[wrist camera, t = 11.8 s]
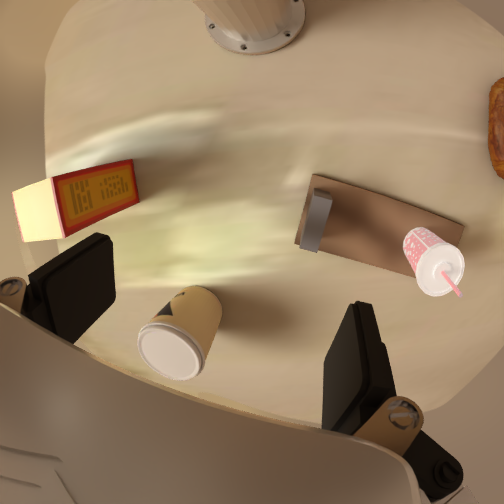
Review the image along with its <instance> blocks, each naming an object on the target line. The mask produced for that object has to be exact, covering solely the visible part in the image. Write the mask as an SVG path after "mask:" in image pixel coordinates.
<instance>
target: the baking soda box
mask: <svg viewBox="0 0 504 504" xmlns="http://www.w3.org/2000/svg"><path fill="white" fill-rule="evenodd" d="M12 197H13V202H14V208H15V212H16V217H17V221H18V225H19V229H20V233H21V237H22V240H23V242H30V241H39V240H48V239H58V238H66V237H68V236H70V235H72V234H74V233H76V232H77V231H79V230H81V229H83V228H85V227H88V226H90V225H92V224H94V223H96V222H98V221H100V220H102V219H104V218H106V217H108V216H110V215H113V214H115V213H117V212H119V211H121V210H124V209H126V208H128V207H130V206H132V205H135V204H137V203H139V196H138V191H137V185H136V179H135V173H134V166H133V160H132V159H129V160H124V161H118V162H113V163H109V164H104V165H99V166H95V167H90V168H86V169H82V170H78V171H74V172H70V173H66V174H62V175H58V176H54V177H51V178H48V179H45V180H43V181H40V182H37V183H34V184H32V185H29V186H27V187H24V188H21V189H19V190H16V191H14V192H12Z"/></svg>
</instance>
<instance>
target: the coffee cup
mask: <svg viewBox="0 0 504 504" xmlns="http://www.w3.org/2000/svg"><path fill="white" fill-rule="evenodd" d="M221 318H222V306H221V303H220V301H219V300H218V298H217V297H216V296H215V295H214V294H213V293H212V292H210V291H209V290H207V289H205V288H202V287H199V286H189V287H186V288H184V289H183V290H181V291H180V292H179V293H178V294H177V295H176V296H175V297H174V298H173V299H172V300H171V301H170V302H169V303H168V304H167V305H166V306H165V307H164V308H163V309H162V310H161V311H160V312H159V313H158V314H157V315H156V316H155V317H154V318H153V319H152V320H151V321H150V322H149V323H147V324H146V325H145V326H144V327H142V329H141V330H140V332H139V335H138V343H137V344H138V349H139V353H140V355H141V356H142V358H143V360H144V361H145V362H146V363H147V364H148V365H149V366H150V367H151V368H152V369H153V370H154V371H156V372H157V373H159V374H160V375H162V376H164V377H167V378H169V379H173V380H179V381H183V380H189V379H192V378H194V377H195V376H197V375H198V374H200V373H201V371H202V370H203V368H204V365H205V360H206V358H207V355H208V352H209V350H210V347H211V345H212V342H213V340H214V337H215V334H216V332H217V329H218V326H219V324H220V321H221Z"/></svg>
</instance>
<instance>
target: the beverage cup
mask: <svg viewBox="0 0 504 504" xmlns="http://www.w3.org/2000/svg"><path fill="white" fill-rule="evenodd" d="M403 250H404V253H405V255H406V257H407V259H408V261H409V263H410V265H411V267H412V269H413V271H414V272H415V275H416V279H417V283H418V284H419V287H420V288H421V289H422V290H423V292H424V293H425V294H428V295H431V296H442V295H444V294H446V293H448V292H450V291H451V290H454V291H455V292H456V294H457V295H458V297H459V298H461V297H462V296H463V294H462V293H461V291H460V290H459V289H458V287H457V285H458V283H459V281H460V280H461V278H462V276H463V272H464V267H465V264H464V257H463V255H462V254H461V252H460V251H459V249H458V248H456V247H455V246H453V245H451V244H449V243H446V242H445V241H444V240H442V239H441V238H439V237H438V236H437V235H435V234H434V233H432V232H431V231H430V230H428V229H426V228H424V227H417V228H415V229H413V230H411V231H410V232H409V233H408V234H407V235H406V237H405V239H404V242H403Z"/></svg>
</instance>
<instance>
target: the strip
mask: <svg viewBox="0 0 504 504" xmlns="http://www.w3.org/2000/svg"><path fill="white" fill-rule="evenodd" d="M417 227H424V228H426V229H428V230H430V231H431V232H432V233H434V234H435V235H437V236H438V237H439V238H441V239H442V240H444V241H445V242H446V243H449V244H451V245H453V246H455V247H456V248H457V245H458V243H459V240H460V238H461V235H462V232H463V230H464V226H463V225H461V224H458V223H456V222H454V221H451V220H449V219H446V218H444V217H441V216H439V215H436V214H434V213H431V212H428V211H426V210H423V209H420V208H418V207H415V206H412V205H410V204H407V203H404V202H401V201H398V200H396V199H393V198H390V197H387V196H384V195H381V194H378V193H375V192H372V191H369V190H366V189H362V188H359V187H356V186H353V185H349V184H346V183H343V182H339V181H336V180H333V179H329V178H326V177H322V176H318V175H315V174H313V175H312V179H311V182H310V186H309V190H308V194H307V198H306V202H305V206H304V209H303V213H302V217H301V221H300V224H299V228H298V232H297V235H296V239H295V243H294V244H298V245H300V247H299V248H301V249H305V250H308V251H312V252H316V253H317V251H318V250H319V251H323V252H327V253H330V254H334V255H337V256H341V257H345V258H348V259H352V260H355V261H359V262H362V263H366V264H369V265H373V266H376V267H380V268H383V269H387V270H390V271H394V272H397V273H400V274H404V275H407V276H411V277H414V278H416V275H415V272H414V271H413V269H412V267H411V265H410V263H409V261H408V259H407V257H406V255H405V253H404V250H403V242H404V239H405V237H406V235H407V234H408V233H409V232H410V231H411V230H413V229H415V228H417Z"/></svg>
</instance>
